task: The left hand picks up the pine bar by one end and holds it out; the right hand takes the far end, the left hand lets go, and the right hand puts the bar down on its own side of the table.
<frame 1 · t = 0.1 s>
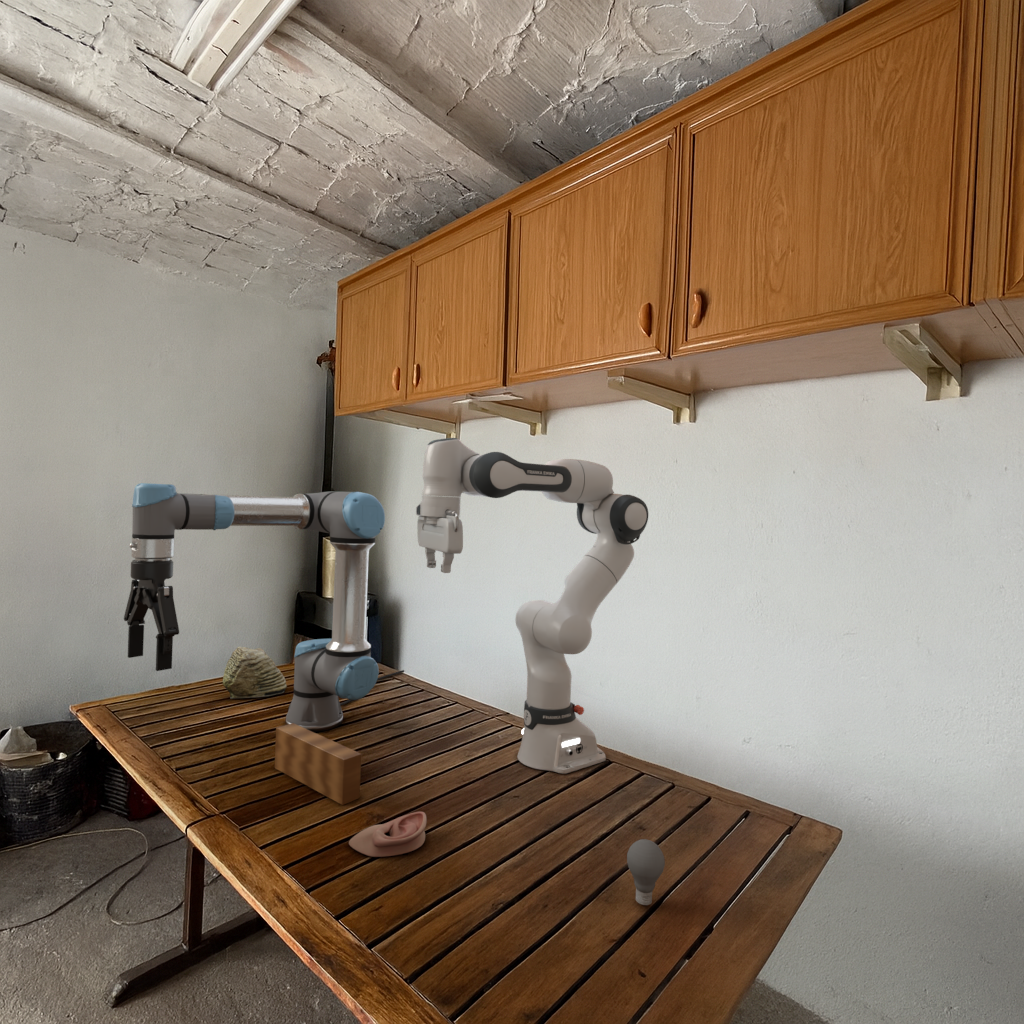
left hand: (149, 662, 129), 28 cm above the table, tool pointing down, fingers open, 13 cm apart
right hand: (438, 570, 144), 48 cm above the table, tool pointing down, fingers open, 8 cm apart
bar: (315, 782, 140), on the table
light bulb: (643, 904, 103), on the table
anatomical model: (388, 842, 117), on the table
fossil: (254, 694, 198), on the table
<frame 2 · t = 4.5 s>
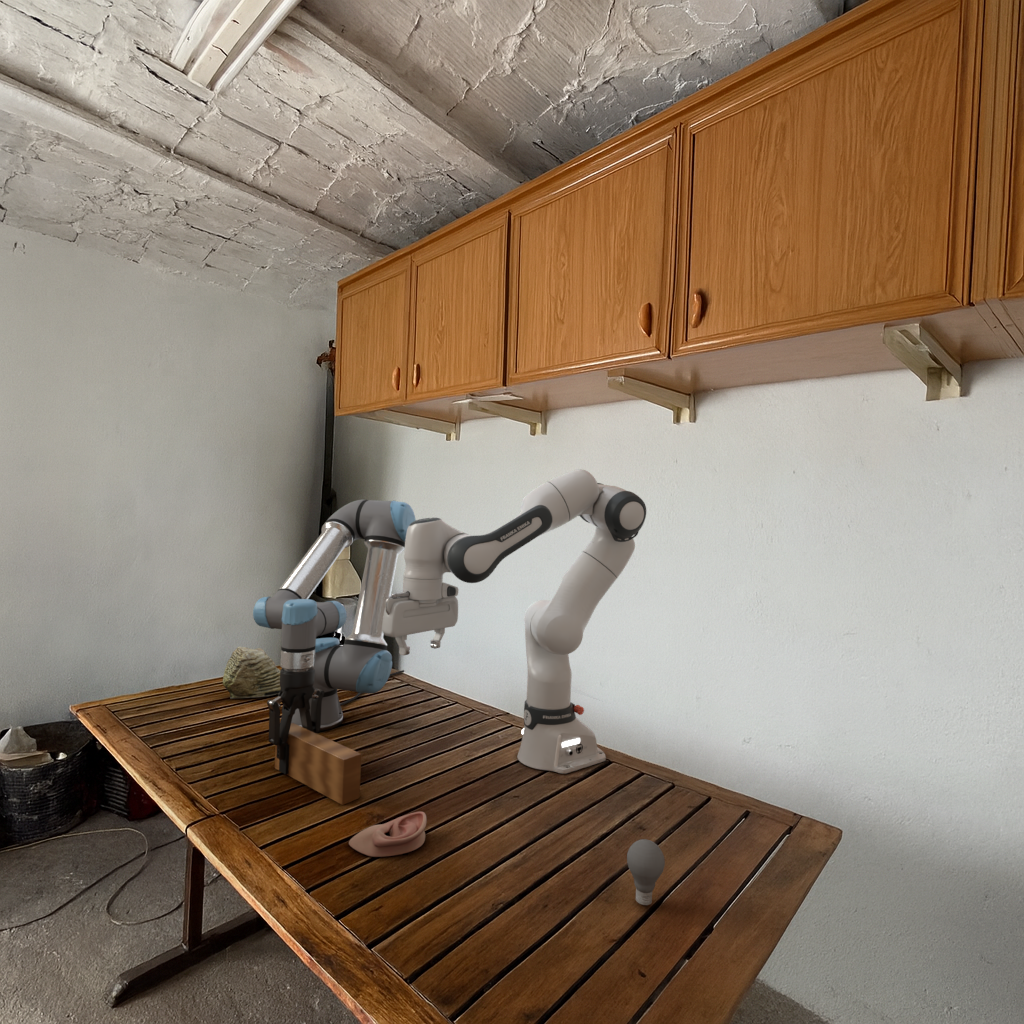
left hand: (293, 768, 146), 1 cm above the table, tool pointing down, fingers closed on bar, 4 cm apart
right hand: (420, 651, 142), 30 cm above the table, tool pointing down, fingers open, 8 cm apart
bar: (315, 782, 140), on the table, touching left hand
everything else where it was.
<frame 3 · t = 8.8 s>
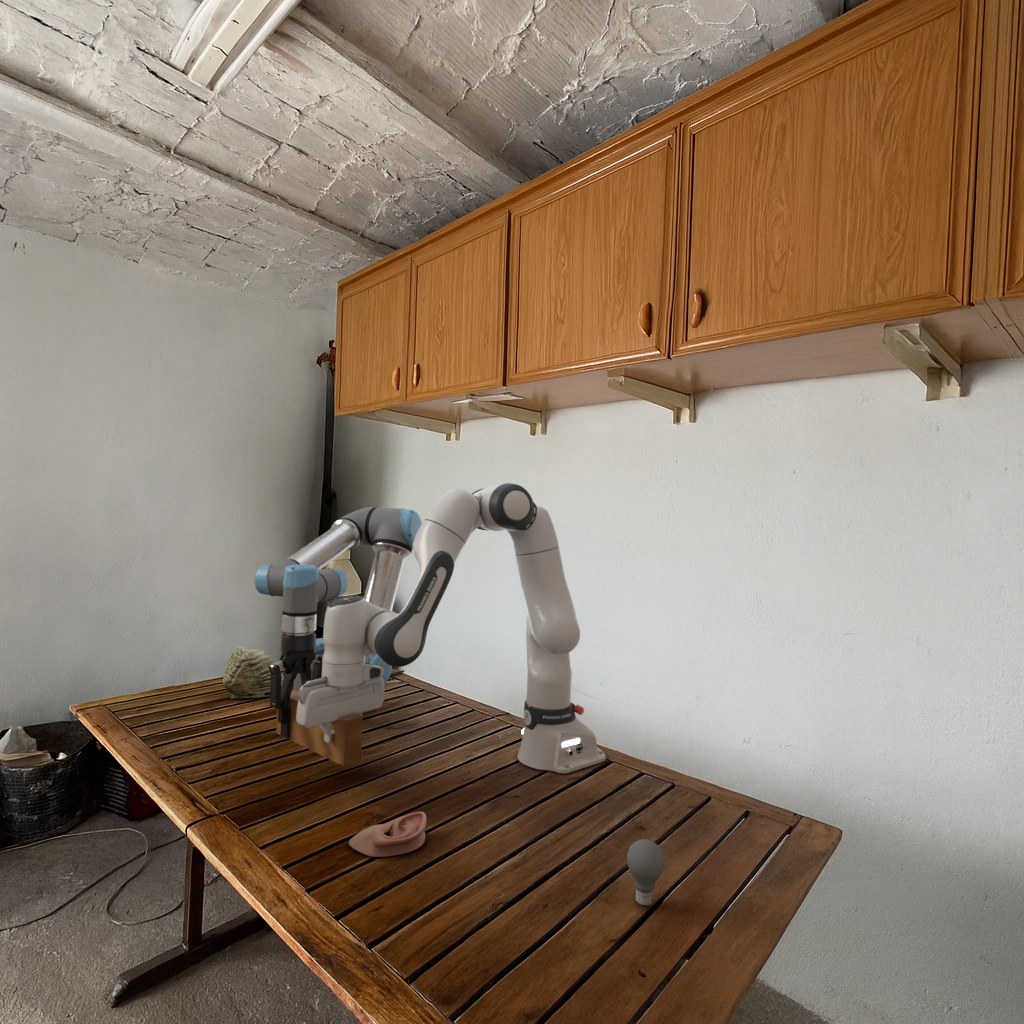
left hand: (295, 733, 145), 9 cm above the table, tool pointing down, fingers closed on bar, 4 cm apart
right hand: (340, 737, 135), 12 cm above the table, tool pointing down, fingers closed on bar, 4 cm apart
bar: (316, 746, 140), point 8 cm above the table, touching left hand, right hand
everything else where it was.
when the left hand's fingers open (9 cm above the table, at t = 9.6 s): bar stays where it is, held by the right hand.
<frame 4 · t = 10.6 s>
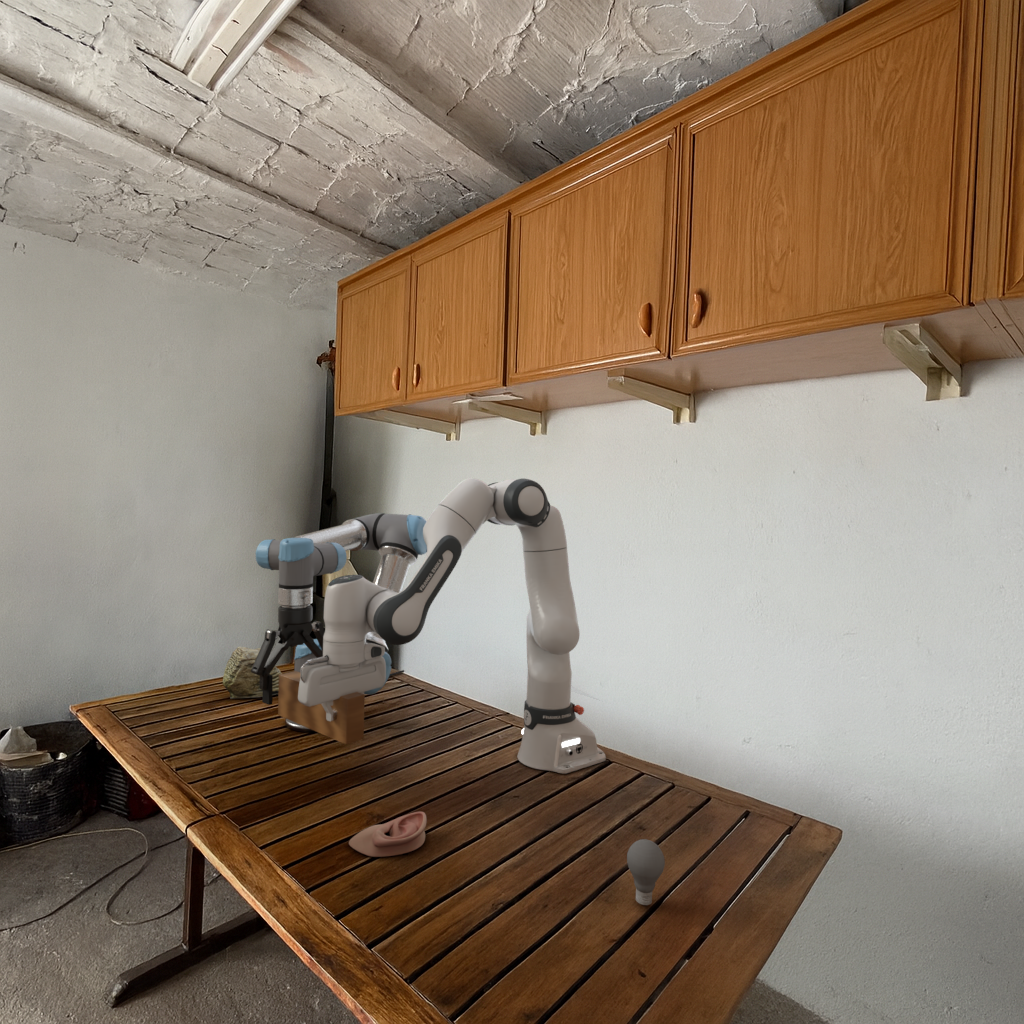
left hand: (294, 695, 147), 17 cm above the table, tool pointing down, fingers open, 13 cm apart
right hand: (343, 716, 135), 17 cm above the table, tool pointing down, fingers closed on bar, 4 cm apart
bar: (318, 726, 140), point 12 cm above the table, touching right hand
everything else where it was.
when the right hand's fingers open (6 cm above the table, at t = 19.0 s): bar stays where it is, on the table.
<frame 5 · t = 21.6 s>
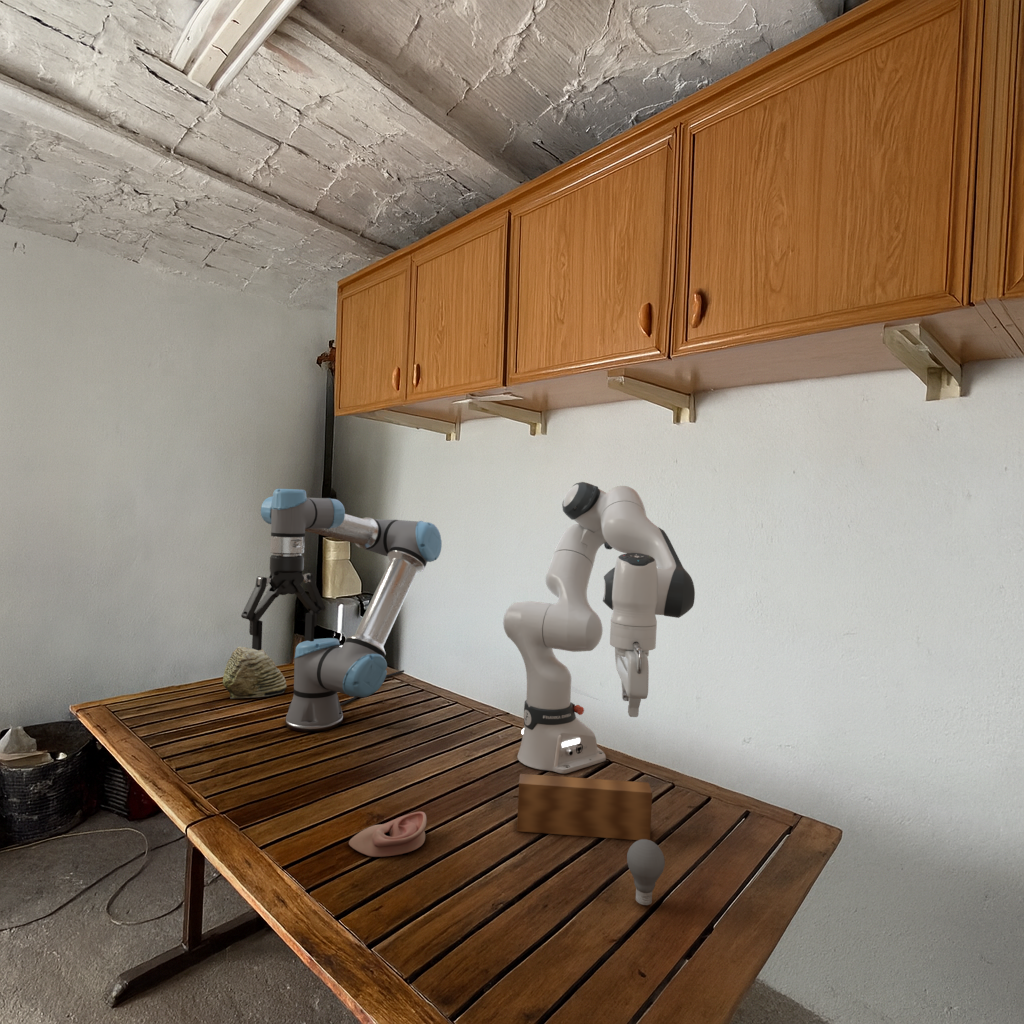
left hand: (283, 644, 149), 28 cm above the table, tool pointing down, fingers open, 13 cm apart
right hand: (629, 707, 124), 25 cm above the table, tool pointing down, fingers open, 8 cm apart
bar: (582, 830, 125), on the table
everything else where it was.
at the end: bar inside the target area (8.0 cm from its centre), on the table; the left hand is holding nothing; the right hand is holding nothing; bar at rest at the end (0.0 cm/s) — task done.
